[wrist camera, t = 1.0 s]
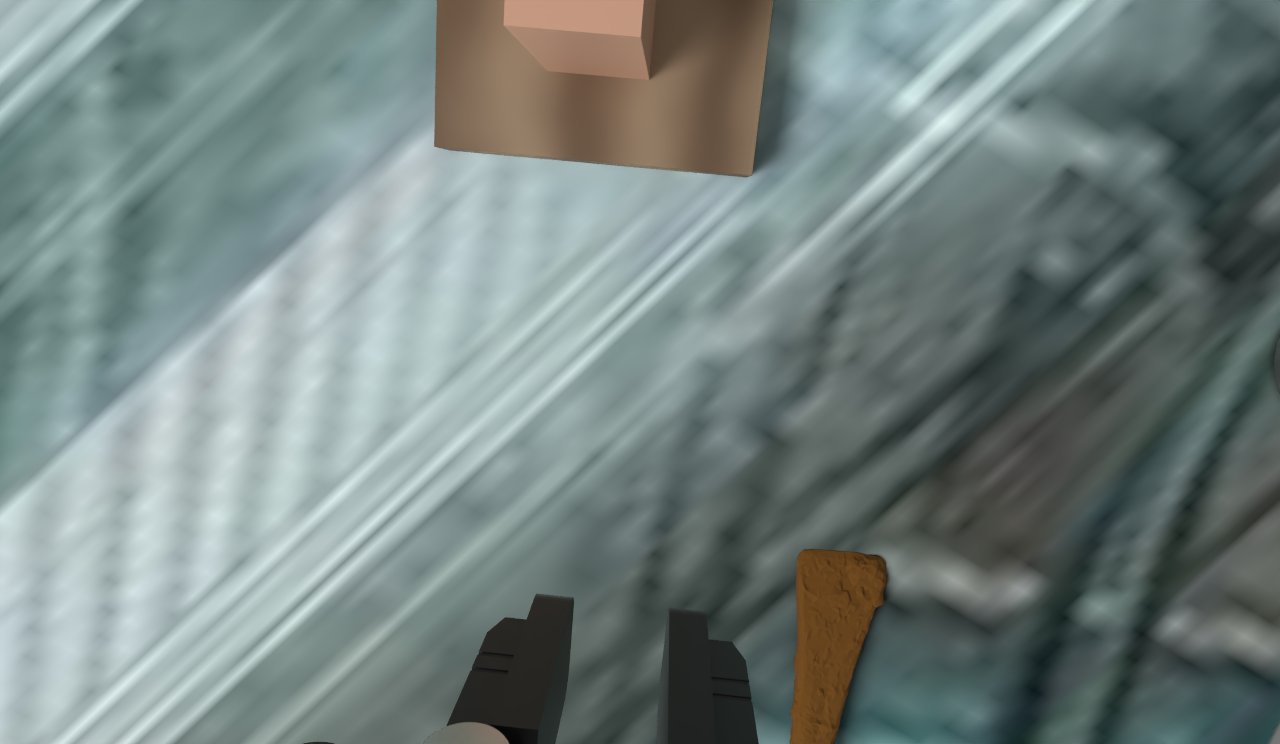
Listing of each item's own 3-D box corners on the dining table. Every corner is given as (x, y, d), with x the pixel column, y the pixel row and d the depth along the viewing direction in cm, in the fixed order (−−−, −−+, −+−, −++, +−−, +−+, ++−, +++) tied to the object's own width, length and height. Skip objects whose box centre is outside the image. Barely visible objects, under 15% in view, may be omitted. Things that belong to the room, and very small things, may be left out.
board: (777, -75, 34) (785, -97, 32) (746, 177, 37) (751, 175, 35) (455, -102, 35) (439, -125, 32) (449, 150, 38) (434, 146, 35)
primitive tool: (797, 544, 43) (808, 574, 39) (888, 551, 42) (907, 581, 39) (765, 804, 47) (772, 851, 44) (847, 811, 47) (860, 859, 44)
